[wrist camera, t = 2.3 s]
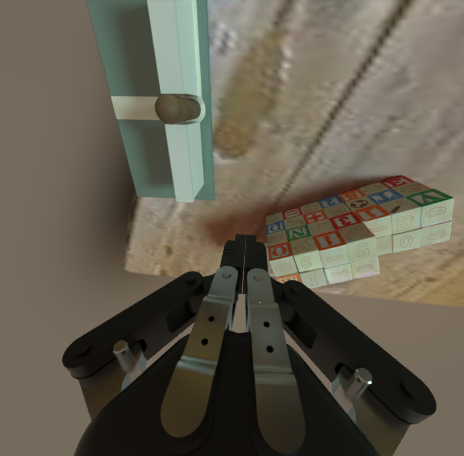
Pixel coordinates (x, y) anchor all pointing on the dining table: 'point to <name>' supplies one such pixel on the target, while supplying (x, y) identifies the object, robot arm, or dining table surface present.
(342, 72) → the dining table surface
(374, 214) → the stack of blocks
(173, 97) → the brown rounded rod
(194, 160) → the panel
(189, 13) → the panel
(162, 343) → the robot arm
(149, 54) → the board
